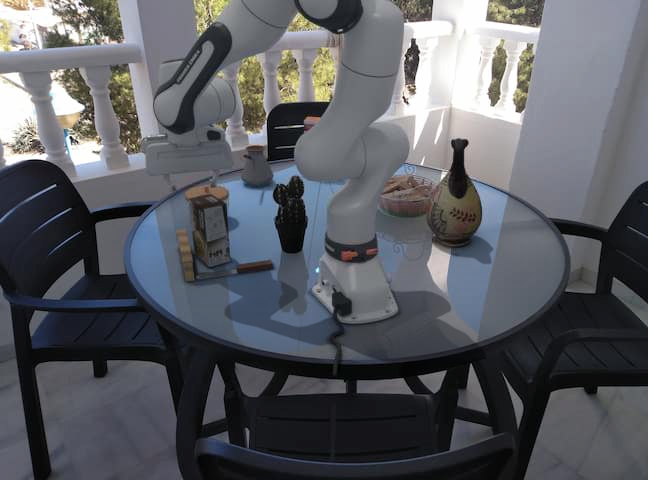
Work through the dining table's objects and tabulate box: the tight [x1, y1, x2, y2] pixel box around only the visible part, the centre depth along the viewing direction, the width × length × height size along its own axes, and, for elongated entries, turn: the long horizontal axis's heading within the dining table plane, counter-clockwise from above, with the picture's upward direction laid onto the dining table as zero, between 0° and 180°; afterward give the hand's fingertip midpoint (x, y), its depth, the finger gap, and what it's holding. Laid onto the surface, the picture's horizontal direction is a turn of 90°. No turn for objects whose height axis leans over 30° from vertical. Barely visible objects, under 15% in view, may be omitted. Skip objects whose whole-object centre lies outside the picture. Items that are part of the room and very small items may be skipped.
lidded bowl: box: [184, 184, 230, 214], centre depth 159 cm, size 13×13×11 cm
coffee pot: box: [240, 144, 275, 188], centre depth 182 cm, size 21×12×15 cm, turn 175°
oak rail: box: [176, 228, 196, 282], centre depth 137 cm, size 18×2×6 cm, turn 19°
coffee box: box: [188, 194, 231, 268], centre depth 137 cm, size 9×6×16 cm
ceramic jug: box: [425, 137, 483, 248], centre depth 145 cm, size 17×15×30 cm
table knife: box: [195, 259, 274, 281], centre depth 134 cm, size 2×19×2 cm, turn 109°
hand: (193, 188), depth 131 cm, fingers open, 8 cm apart
